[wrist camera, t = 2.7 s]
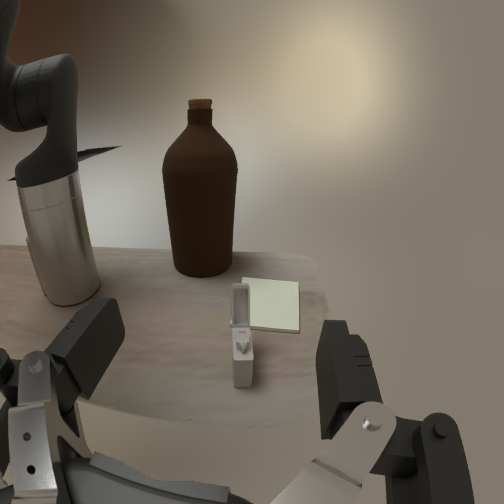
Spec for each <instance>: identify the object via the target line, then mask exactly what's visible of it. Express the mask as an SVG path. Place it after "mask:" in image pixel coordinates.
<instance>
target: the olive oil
mask: <svg viewBox="0 0 504 504" xmlns="http://www.w3.org/2000/svg"><path fill="white" fill-rule="evenodd" d="M188 104H189V110H187V111H188V125H187V127H186V129H185V130H184V131H183V132H182V134H181V135H180V136H179V137H178V138H177V139H176V140H175V142H174V143H173V144H172V145H171V146H170V148H169V149H168V150H167V152H166V154H165V158H164V162H163V168H162V173H163V182H164V192H165V200H166V208H167V216H168V223H169V230H170V238H171V246H172V253H173V261H174V265H175V268H176V269H177V270H178V271H180V272H181V273H183V274H185V275H188V276H193V277H208V276H213V275H217V274H220V273H222V272H224V271H225V270H227V269H228V268H229V267H230V265H231V263H232V246H233V224H234V223H233V222H234V209H235V194H236V181H237V173H238V169H237V161H236V157H235V154H234V151H233V149H232V148H231V146H230V145H229V144H228V143H227V142H226V141H225V140H224V138H222V136H221V135H220V134H219V133H218V132H217V131H216V130H215V129H214V127H213V126H212V109H211V104H212V100H211V99H192V100H189V101H188Z"/></svg>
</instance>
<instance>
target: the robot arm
mask: <svg viewBox="0 0 504 504" xmlns="http://www.w3.org/2000/svg"><path fill="white" fill-rule="evenodd" d="M20 2H21V0H0V124H1V125H2V126H3V127H5V128H6V129H8V130H10V131H13V132H23V131H27V130H31V129H35V128H39V127H43V126H46V125H47V134H46V137H45V139H44V140H43V142H42V143H41V144H40V146H39V147H38V148H37V149H36V150H35V151H33V152H32V153H31V154H30V155H29V156H27V157H26V158H24V159H23V160H21V161H20V162H19V163H18V164H17V165H16V168H15V177H16V183H17V189H18V195H19V200H20V205H21V210H22V214H23V219H24V223H25V227H26V231H27V234H28V236H27V238H26V241H27V246H28V249H29V252H30V256H31V259H32V262H33V265H34V268H35V271H36V274H37V277H38V280H39V282H40V285H41V288H42V291H43V293H44V294H46V295H47V296H48V299H49V300H50V302H52V303H53V304H56V305H60V306H68V305H73V304H77V303H80V302H82V301H84V300H86V299H87V298H89V297H90V296H92V295H93V294H94V293H95V292H96V290H97V289H98V287H99V285H100V280H99V276H98V272H97V268H96V264H95V260H94V255H93V251H92V246H91V243H90V237H89V232H88V227H87V222H86V217H85V212H84V205H83V199H82V192H81V185H80V177H79V170H78V159H77V135H76V134H77V133H76V112H77V94H78V70H77V65H76V62H75V59H74V58H73V57H72V56H71V55H69V54H61V55H56V56H53V57H49V58H46V59H42V60H39V61H36V62H32V63H29V64H26V65H23V66H18V65H15V64H13V63H12V62H11V61H10V59H9V58H8V56H7V49H8V46H9V43H10V40H11V37H12V34H13V30H14V28H15V24H16V21H17V18H18V14H19V9H20ZM124 337H125V328H124V325H123V321H122V318H121V314H120V311H119V307H118V304H117V301H116V300H115V299H114V298H108V297H102V296H97V297H96V298H95V299H94V300H93V301H92V302H91V303H90V304H89V306H86V307H85V308H83V309H82V310H80V311H78V312H77V313H76V314H75V315H74V316H73V318H72V319H71V320H70V322H68V323H67V325H66V326H65V329H62V331H61V332H60V333H59V334H58V335H57V337H56V338H55V339H54V340H53V342H52V343H51V344H50V345H49V346H48V348H47V349H46V350H45V351H44V352H43V351H34V352H31V353H29V354H27V355H26V356H25V357H24V358H23V359H22V360H14V359H10V357H9V355H8V354H7V352H6V351H5V350H4V349H2V348H0V392H1V393H2V394H3V396H4V397H5V398H6V401H5V403H4V404H3V406H2V408H1V410H0V504H253V503H251V502H249V501H247V500H246V499H243V498H241V497H239V496H236V495H234V494H231V493H230V487H225V486H218V485H212V484H206V483H200V482H194V481H159V480H153V479H151V478H149V477H147V476H145V475H143V474H142V473H140V472H138V471H136V470H135V469H133V468H132V467H130V466H128V465H127V464H125V463H124V462H121V461H118V460H116V459H113V458H110V457H108V456H105V455H103V454H100V453H98V452H94V454H93V455H92V453H91V452H90V450H89V448H88V446H87V444H86V441H85V438H84V433H83V429H82V424H81V419H80V414H79V409H78V404H77V402H76V399H77V397H78V396H79V397H82V398H85V399H87V400H89V399H90V397H91V395H92V393H93V392H94V390H95V388H96V386H97V385H98V383H99V381H100V379H101V378H102V376H103V374H104V372H105V371H106V369H107V367H108V366H109V364H110V362H111V361H112V359H113V357H114V356H115V354H116V352H117V351H118V349H119V348H120V346H121V344H122V343H123V340H124ZM316 373H317V384H318V396H319V410H320V424H321V439H331V441H330V442H329V444H328V445H327V446H326V447H325V448H324V450H323V451H322V452H321V453H320V454H319V456H318V457H317V458H316V459H314V460H313V461H311V463H310V464H308V466H307V467H306V468H305V469H304V470H303V471H302V472H301V473H300V474H299V475H298V476H297V477H296V478H295V479H294V481H293V482H291V483H290V484H289V485H288V487H286V488H285V490H283V491H282V492H281V493H280V494H279V495H278V496H277V497H276V498H275V499H274V500H273V501H272V502H271V503H270V504H351V503H352V501H353V500H354V499H355V497H356V496H357V494H358V493H359V491H360V489H361V487H362V483H363V481H364V479H365V478H366V477H367V475H368V474H369V473H372V474H379V475H385V480H386V498H387V504H475V503H474V496H473V490H472V484H471V479H470V474H469V469H468V465H467V461H466V456H465V452H464V448H463V444H462V440H461V437H460V433H459V430H458V426H457V424H456V422H455V421H454V420H453V419H452V418H451V417H450V416H448V415H446V414H444V413H433V414H430V415H429V416H427V417H426V418H425V419H424V420H423V421H415V420H409V419H403V418H400V417H397V416H395V414H394V413H393V411H392V410H391V409H390V408H389V407H388V406H386V405H384V404H383V402H382V398H381V395H380V391H379V387H378V383H377V379H376V376H375V372H374V369H373V367H372V361H371V358H370V355H369V351H368V348H367V345H366V343H365V342H364V341H363V340H362V339H361V338H360V336H359V335H349V331H348V327H347V324H346V321H344V320H325V321H324V323H323V327H322V331H321V335H320V340H319V344H318V348H317V353H316ZM9 462H10V463H11V470H12V478H13V485H10V486H8V484H7V482H6V481H4V480H3V476H4V473H5V471H6V469H7V466H8V464H9Z"/></svg>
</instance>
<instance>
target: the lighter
mask: <svg viewBox="0 0 504 504" xmlns="http://www.w3.org/2000/svg"><path fill="white" fill-rule="evenodd" d="M231 319H232V327H233V329H232V363H233V383H234V387H235V388H249V387H251V386H252V376H253V361H254V357H253V348H252V340H251V331H250V328H248V327H249V326H250V286H249V284H248V283H232V284H231Z"/></svg>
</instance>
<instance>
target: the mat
mask: <svg viewBox="0 0 504 504" xmlns="http://www.w3.org/2000/svg"><path fill="white" fill-rule="evenodd" d="M241 283H248V284H249V286H250V326H249V327H248V328H250V329H257V330H267V331H278V332H289V333H299V291H298V282H290V281H279V280H268V279H257V278H247V277H243V278H242V282H241ZM230 326H231V327H232V319H231V322H230Z"/></svg>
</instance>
